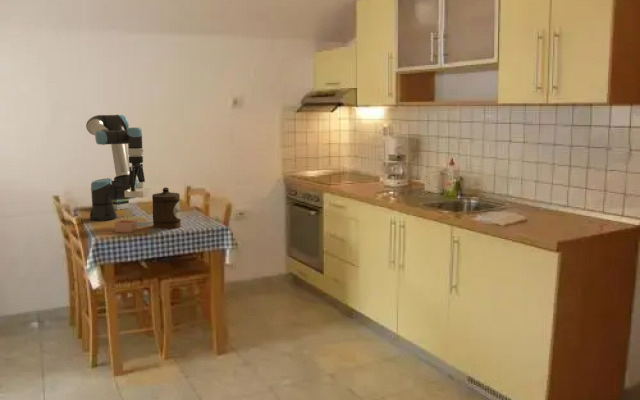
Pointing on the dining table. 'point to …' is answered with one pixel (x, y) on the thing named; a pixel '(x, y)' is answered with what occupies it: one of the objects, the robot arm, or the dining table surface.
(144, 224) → the mat
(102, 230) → the dining table surface
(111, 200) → the robot arm
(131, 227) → the dish
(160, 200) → the wooden container
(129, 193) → the lid
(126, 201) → the tea box
